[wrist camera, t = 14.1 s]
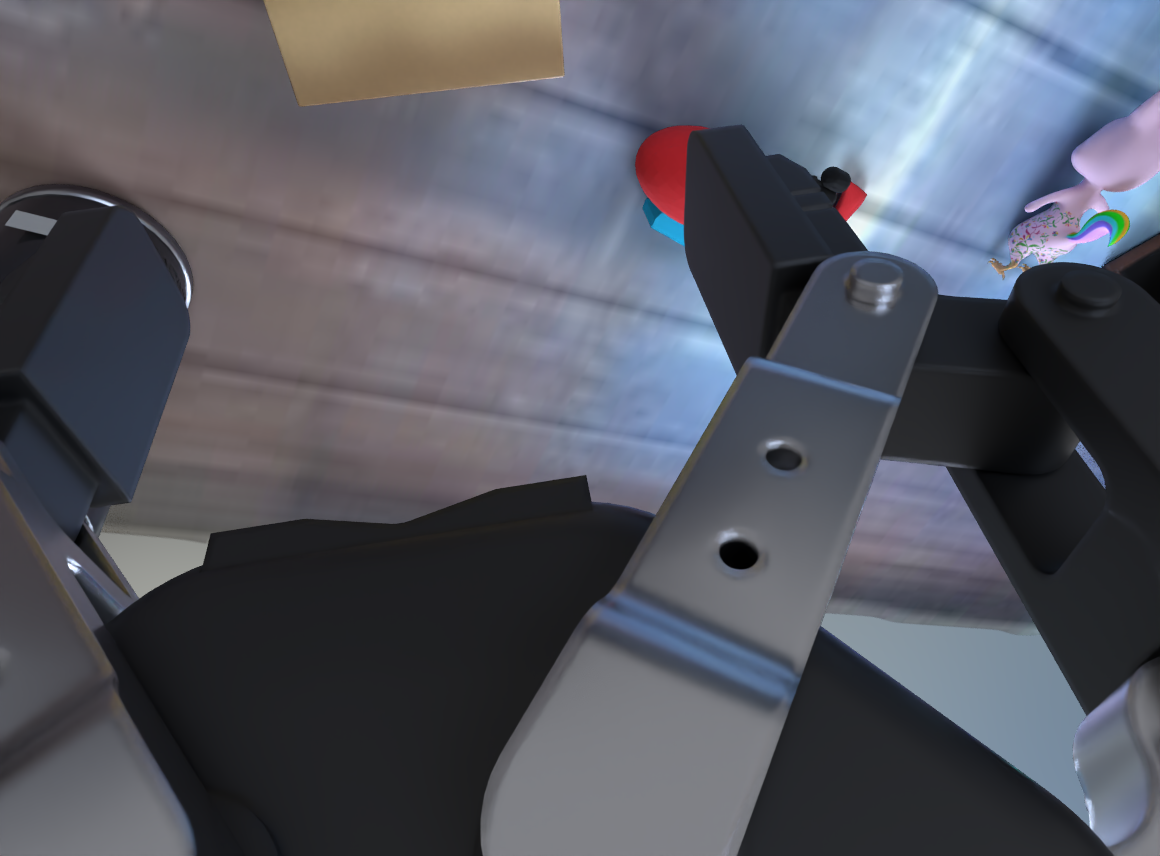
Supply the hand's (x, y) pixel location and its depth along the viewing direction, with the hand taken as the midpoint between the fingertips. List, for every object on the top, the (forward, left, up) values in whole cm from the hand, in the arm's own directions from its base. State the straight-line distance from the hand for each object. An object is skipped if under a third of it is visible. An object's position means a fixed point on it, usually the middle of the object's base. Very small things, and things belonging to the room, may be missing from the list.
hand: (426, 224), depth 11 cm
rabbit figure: (+35, -16, -27) cm, 47 cm away
